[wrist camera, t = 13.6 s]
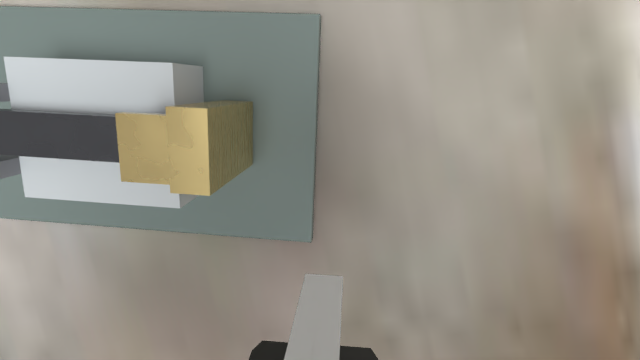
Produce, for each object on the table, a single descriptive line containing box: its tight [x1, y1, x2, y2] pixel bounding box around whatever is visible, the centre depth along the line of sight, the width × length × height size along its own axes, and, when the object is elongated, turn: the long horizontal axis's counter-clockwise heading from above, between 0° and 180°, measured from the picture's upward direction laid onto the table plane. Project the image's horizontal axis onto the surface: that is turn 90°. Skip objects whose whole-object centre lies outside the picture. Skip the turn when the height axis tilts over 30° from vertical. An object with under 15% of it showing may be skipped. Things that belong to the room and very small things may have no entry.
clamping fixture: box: [0, 6, 321, 243], centre depth 29 cm, size 29×18×8 cm, turn 88°
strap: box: [0, 109, 119, 163], centre depth 26 cm, size 15×3×1 cm, turn 88°
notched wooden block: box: [115, 100, 253, 196], centre depth 26 cm, size 5×5×9 cm
